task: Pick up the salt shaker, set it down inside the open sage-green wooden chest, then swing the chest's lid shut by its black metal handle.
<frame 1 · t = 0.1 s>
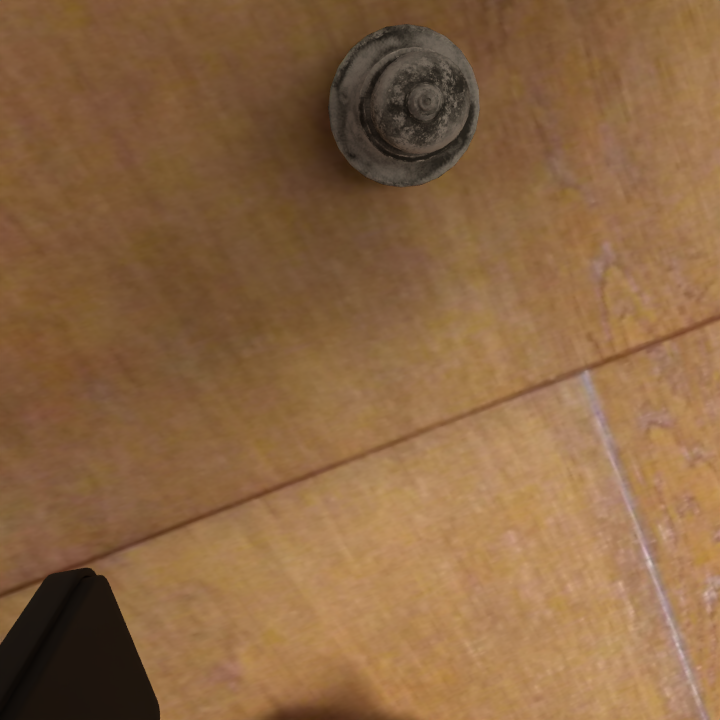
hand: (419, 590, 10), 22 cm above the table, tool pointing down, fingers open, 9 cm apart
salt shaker: (397, 111, 28), on the table
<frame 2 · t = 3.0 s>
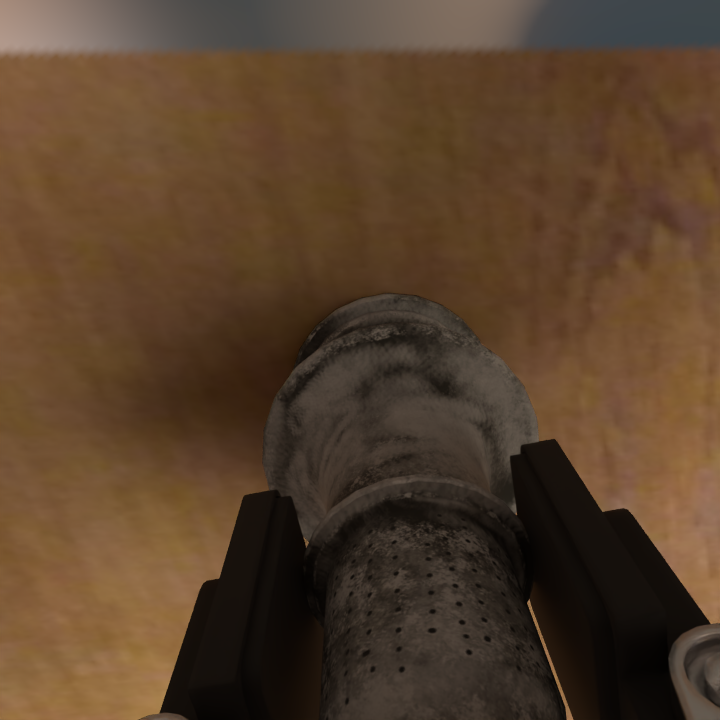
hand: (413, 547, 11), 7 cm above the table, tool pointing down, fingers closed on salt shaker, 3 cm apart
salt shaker: (390, 387, 17), on the table, touching gripper
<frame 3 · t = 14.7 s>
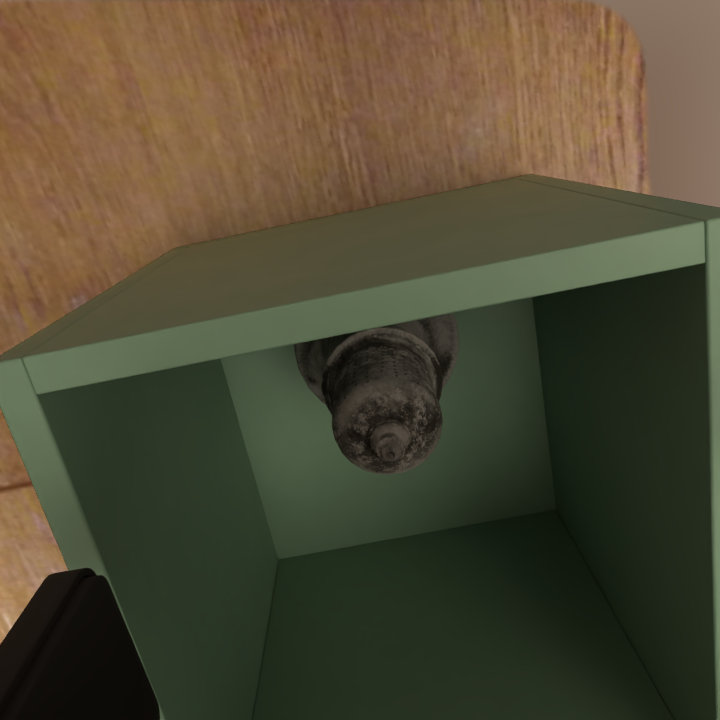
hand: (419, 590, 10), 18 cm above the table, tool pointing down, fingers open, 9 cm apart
chest: (387, 389, 28), on the table
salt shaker: (373, 317, 26), point 1 cm above the table, touching chest
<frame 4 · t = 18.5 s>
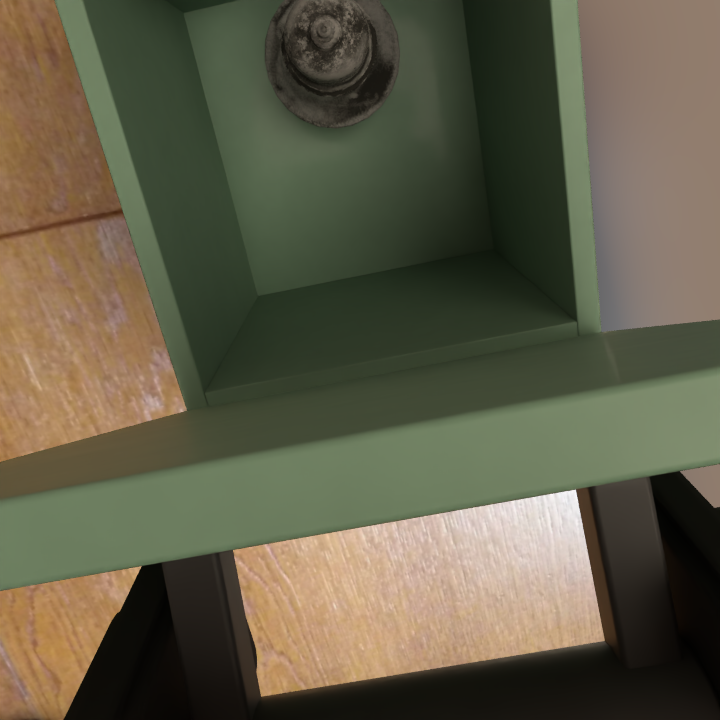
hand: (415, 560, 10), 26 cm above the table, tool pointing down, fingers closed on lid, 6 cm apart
lid: (410, 506, 13), point 23 cm above the table, hinge at 70.0°, touching gripper
chest: (348, 137, 33), on the table
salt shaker: (334, 64, 31), point 1 cm above the table, touching chest
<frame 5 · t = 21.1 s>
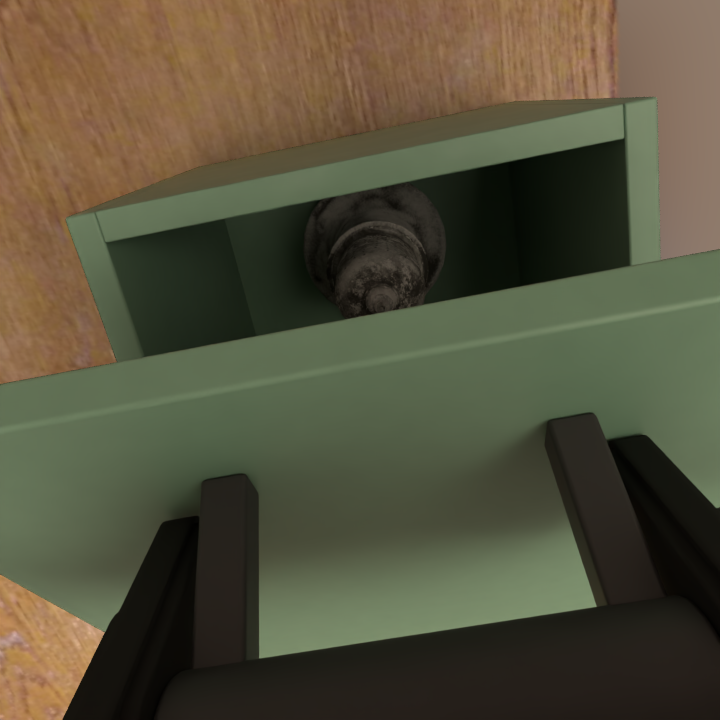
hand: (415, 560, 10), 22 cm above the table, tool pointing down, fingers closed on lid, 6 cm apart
lid: (443, 678, 13), point 21 cm above the table, hinge at 30.3°, touching gripper
chest: (384, 298, 31), on the table
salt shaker: (372, 231, 30), point 1 cm above the table, touching chest
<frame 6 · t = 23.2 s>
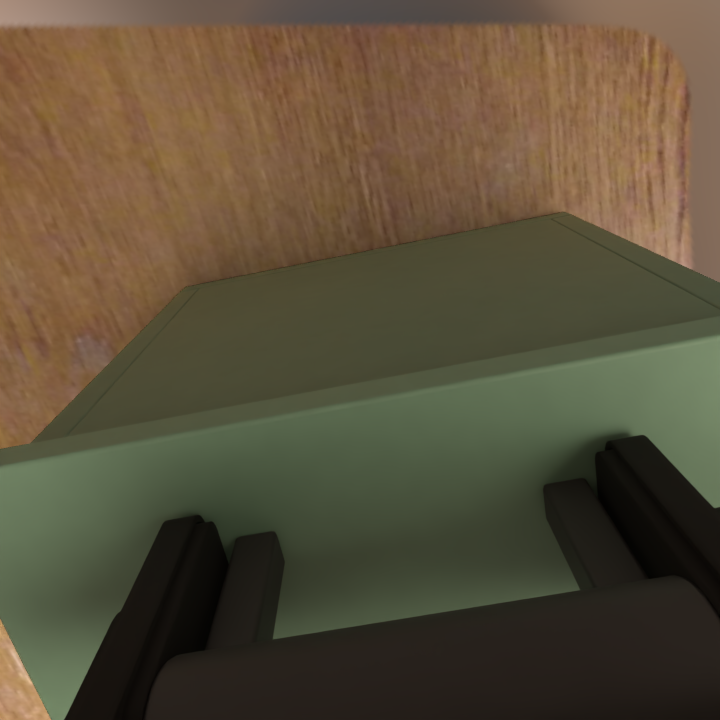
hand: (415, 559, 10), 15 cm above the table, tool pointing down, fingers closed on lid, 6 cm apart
chest: (406, 431, 27), on the table
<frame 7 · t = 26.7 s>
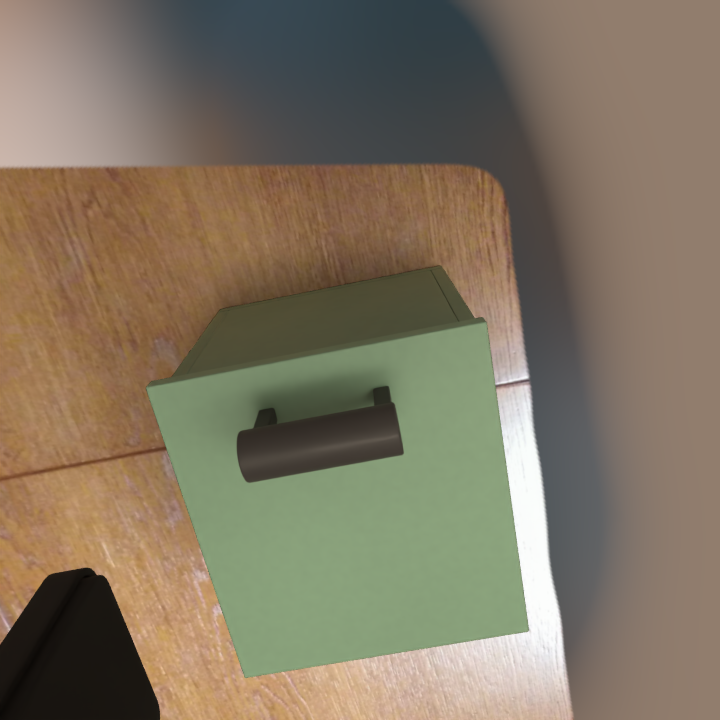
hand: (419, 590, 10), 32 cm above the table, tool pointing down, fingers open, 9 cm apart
lid: (352, 544, 28), point 17 cm above the table, hinge at -0.2°, touching chest
chest: (353, 396, 44), on the table
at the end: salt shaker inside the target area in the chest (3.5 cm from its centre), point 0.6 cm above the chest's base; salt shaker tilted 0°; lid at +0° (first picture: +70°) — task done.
